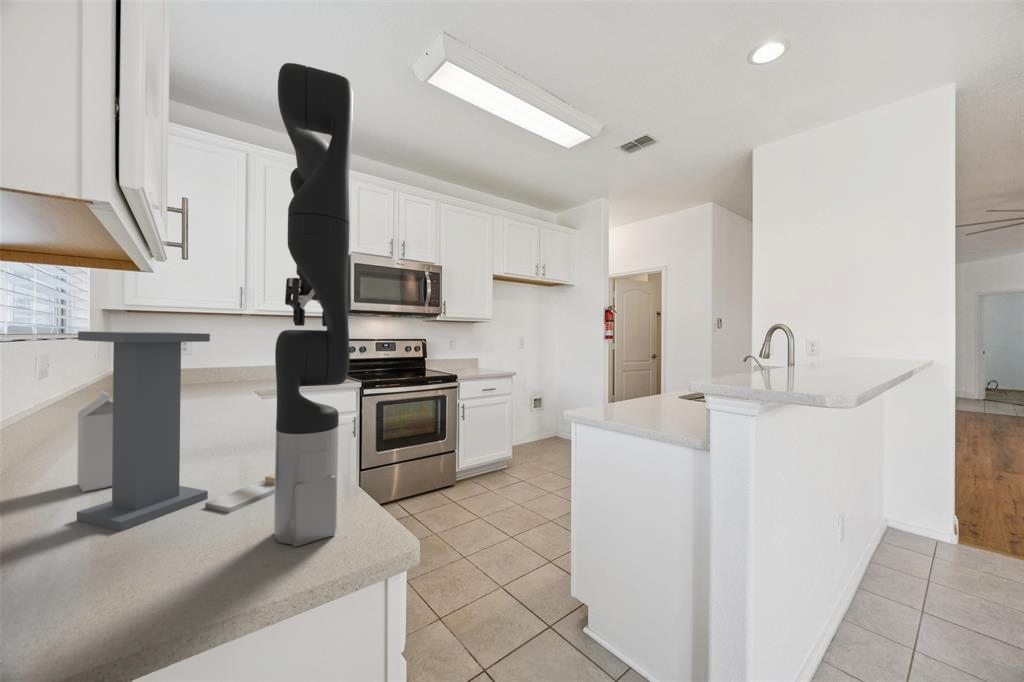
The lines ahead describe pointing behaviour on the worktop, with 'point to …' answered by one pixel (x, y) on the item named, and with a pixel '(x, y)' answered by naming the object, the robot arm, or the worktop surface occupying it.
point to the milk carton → (95, 444)
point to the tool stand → (144, 429)
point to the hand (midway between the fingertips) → (313, 326)
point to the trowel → (244, 496)
